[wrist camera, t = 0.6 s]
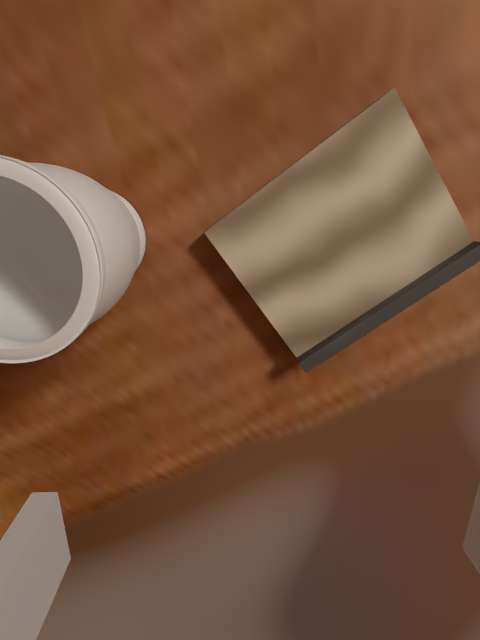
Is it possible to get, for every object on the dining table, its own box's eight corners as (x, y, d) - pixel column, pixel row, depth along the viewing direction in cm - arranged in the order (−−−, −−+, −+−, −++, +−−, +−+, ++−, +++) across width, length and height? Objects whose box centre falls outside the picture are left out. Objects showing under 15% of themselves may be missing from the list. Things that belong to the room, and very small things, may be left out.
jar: (123, 317, 35) (48, 397, 20) (19, 257, 33) (-144, 300, 19) (180, 218, 32) (138, 232, 18) (70, 148, 30) (-75, 100, 16)
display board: (205, 230, 32) (202, 233, 29) (384, 94, 30) (401, 82, 26) (300, 360, 36) (307, 374, 33) (466, 251, 33) (490, 256, 30)
